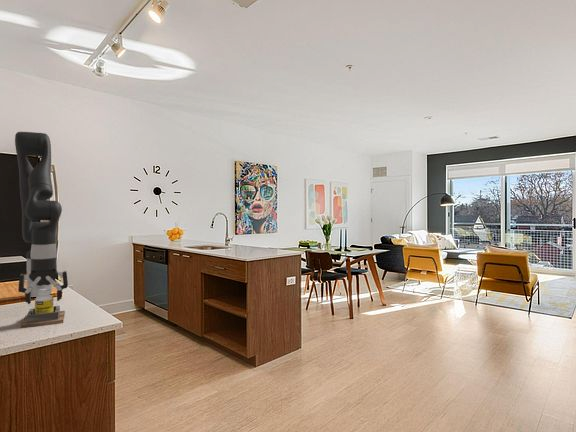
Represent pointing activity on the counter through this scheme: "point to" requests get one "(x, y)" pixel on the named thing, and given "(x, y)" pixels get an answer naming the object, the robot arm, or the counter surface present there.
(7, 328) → the counter surface
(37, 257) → the robot arm
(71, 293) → the counter surface
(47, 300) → the supplement bottle
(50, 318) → the socket base
